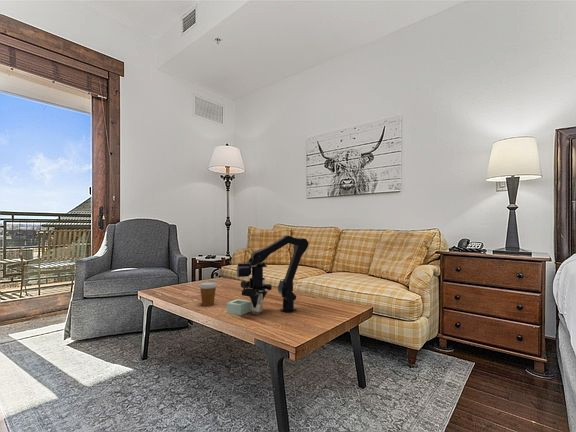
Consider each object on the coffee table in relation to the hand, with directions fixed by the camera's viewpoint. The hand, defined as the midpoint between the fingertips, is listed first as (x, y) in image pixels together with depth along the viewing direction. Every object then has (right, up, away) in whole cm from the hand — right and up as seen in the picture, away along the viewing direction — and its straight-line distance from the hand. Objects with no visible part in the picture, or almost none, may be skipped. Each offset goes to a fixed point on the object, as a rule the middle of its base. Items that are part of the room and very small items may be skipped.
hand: (257, 306), depth 156 cm
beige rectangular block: (0, -4, 0) cm, 4 cm away
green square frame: (-10, -4, +3) cm, 11 cm away
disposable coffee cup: (-29, -4, +17) cm, 34 cm away
